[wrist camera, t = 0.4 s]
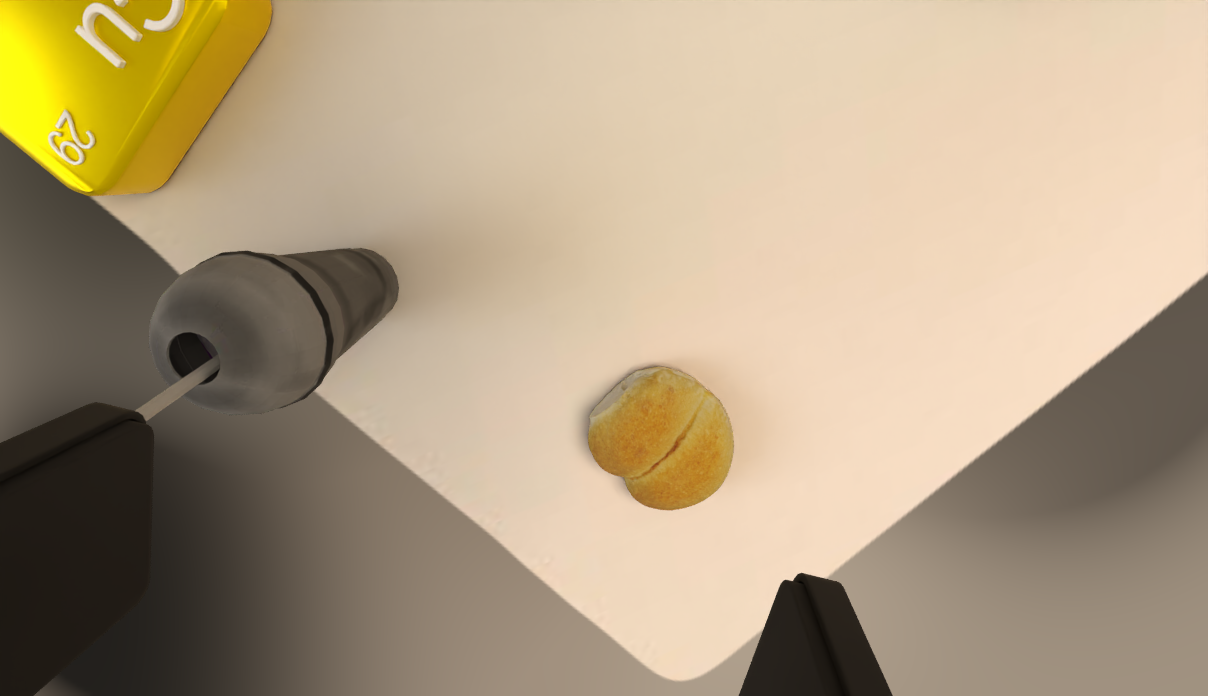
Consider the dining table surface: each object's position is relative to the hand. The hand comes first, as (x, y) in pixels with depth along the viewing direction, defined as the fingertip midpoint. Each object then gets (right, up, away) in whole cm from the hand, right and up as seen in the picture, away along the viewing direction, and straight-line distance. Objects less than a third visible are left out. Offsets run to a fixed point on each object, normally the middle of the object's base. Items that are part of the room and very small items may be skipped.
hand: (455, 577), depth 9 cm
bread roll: (+6, -2, +32) cm, 32 cm away
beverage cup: (-13, +7, +30) cm, 34 cm away
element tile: (-26, +22, +27) cm, 43 cm away
